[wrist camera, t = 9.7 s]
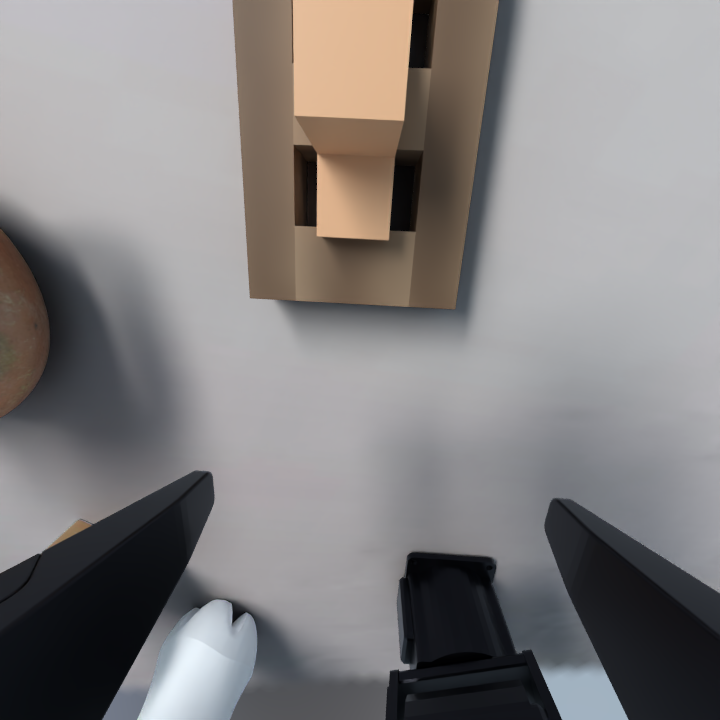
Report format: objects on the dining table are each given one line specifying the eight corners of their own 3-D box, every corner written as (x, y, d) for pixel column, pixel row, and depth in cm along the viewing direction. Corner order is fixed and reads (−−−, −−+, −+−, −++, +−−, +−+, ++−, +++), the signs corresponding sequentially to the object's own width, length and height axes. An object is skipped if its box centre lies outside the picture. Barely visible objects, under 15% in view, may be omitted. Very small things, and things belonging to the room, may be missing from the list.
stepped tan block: (401, 2, 15) (436, -285, 7) (385, 241, 18) (394, 238, 10) (334, -1, 15) (289, -289, 7) (329, 238, 18) (295, 232, 10)
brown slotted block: (493, -90, 14) (524, -176, 11) (442, 299, 19) (455, 309, 16) (252, -97, 14) (221, -185, 11) (268, 290, 19) (250, 298, 16)
